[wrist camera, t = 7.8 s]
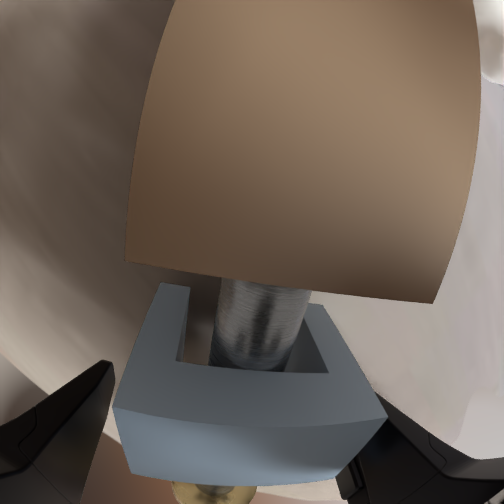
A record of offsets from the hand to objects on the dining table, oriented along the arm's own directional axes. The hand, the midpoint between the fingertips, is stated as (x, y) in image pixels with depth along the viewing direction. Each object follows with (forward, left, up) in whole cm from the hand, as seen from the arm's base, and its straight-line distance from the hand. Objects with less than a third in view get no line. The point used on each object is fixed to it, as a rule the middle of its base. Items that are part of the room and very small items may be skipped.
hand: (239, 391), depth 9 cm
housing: (0, -13, -4) cm, 14 cm away
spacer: (0, 0, -4) cm, 4 cm away
